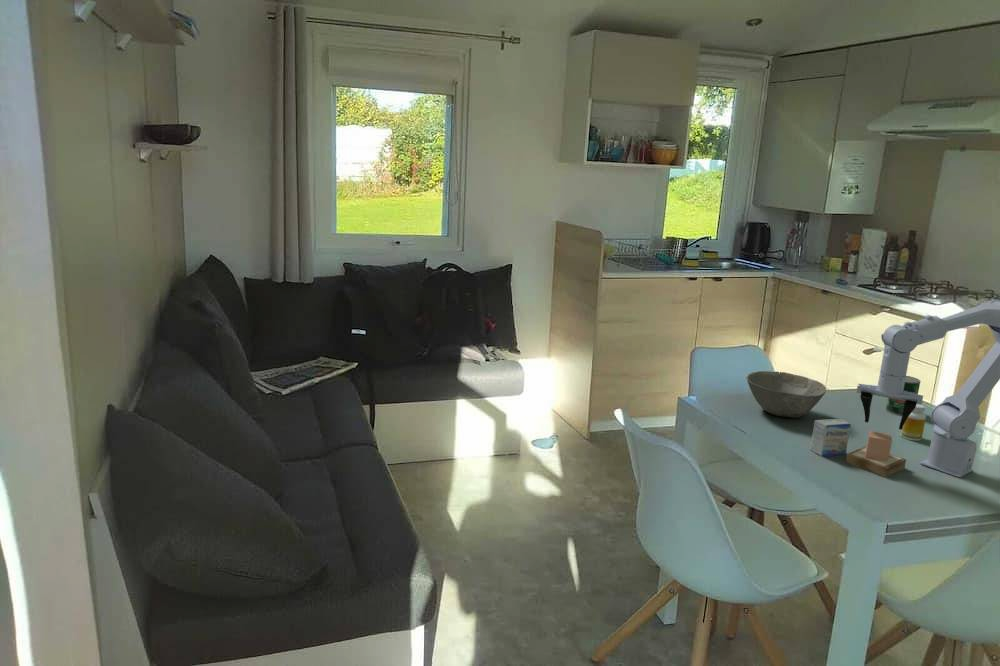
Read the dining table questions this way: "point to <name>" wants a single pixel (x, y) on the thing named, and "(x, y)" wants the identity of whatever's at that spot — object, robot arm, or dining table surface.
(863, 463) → the walnut plinth
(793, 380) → the ceramic bowl
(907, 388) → the canned tomato
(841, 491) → the dining table surface
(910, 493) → the dining table surface
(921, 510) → the dining table surface
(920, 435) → the supplement bottle
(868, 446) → the block
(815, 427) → the medicine box
